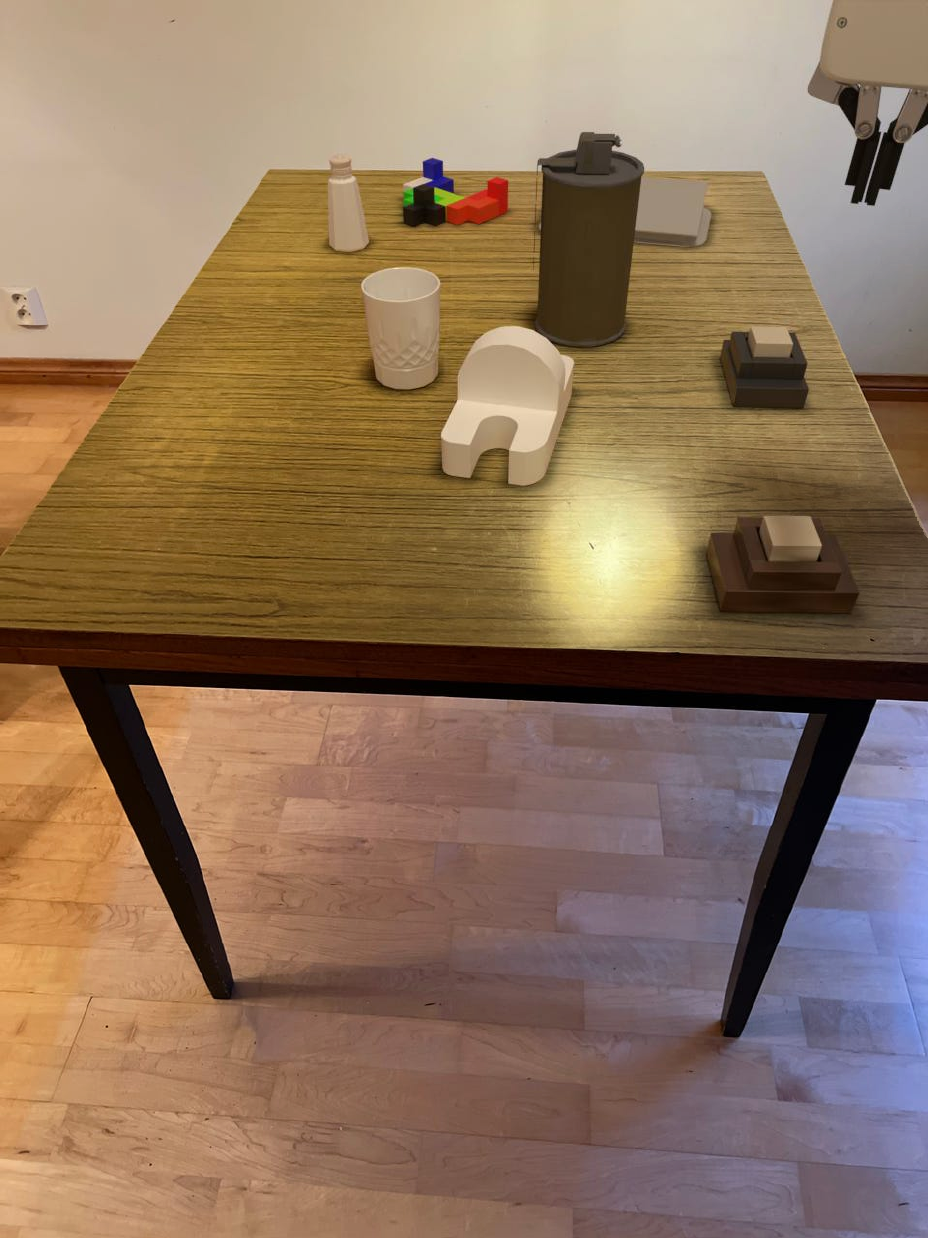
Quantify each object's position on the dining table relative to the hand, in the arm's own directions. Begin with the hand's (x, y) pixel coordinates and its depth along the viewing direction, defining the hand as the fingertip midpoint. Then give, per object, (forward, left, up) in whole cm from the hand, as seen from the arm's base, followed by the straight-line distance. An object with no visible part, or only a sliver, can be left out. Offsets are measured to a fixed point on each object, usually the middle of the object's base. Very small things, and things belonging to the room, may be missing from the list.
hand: (864, 197), depth 61 cm
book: (+29, -57, -25) cm, 69 cm away
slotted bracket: (+26, -1, -25) cm, 36 cm away
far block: (+4, -18, -25) cm, 32 cm away
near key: (-2, +12, -22) cm, 25 cm away
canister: (+26, -24, -25) cm, 43 cm away
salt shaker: (+62, -36, -25) cm, 76 cm away
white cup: (+40, -7, -25) cm, 48 cm away
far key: (+4, -19, -22) cm, 29 cm away
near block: (-2, +13, -25) cm, 28 cm away
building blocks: (+55, -51, -25) cm, 79 cm away
